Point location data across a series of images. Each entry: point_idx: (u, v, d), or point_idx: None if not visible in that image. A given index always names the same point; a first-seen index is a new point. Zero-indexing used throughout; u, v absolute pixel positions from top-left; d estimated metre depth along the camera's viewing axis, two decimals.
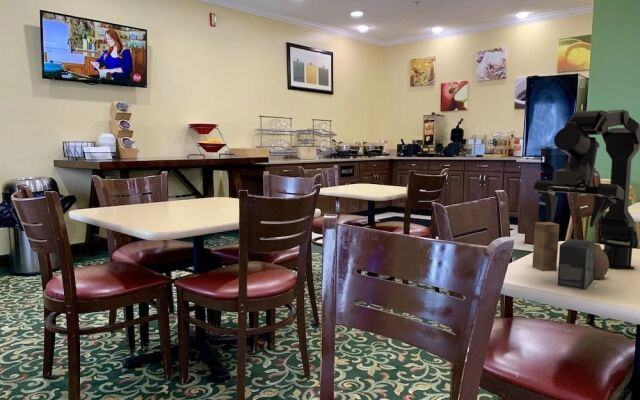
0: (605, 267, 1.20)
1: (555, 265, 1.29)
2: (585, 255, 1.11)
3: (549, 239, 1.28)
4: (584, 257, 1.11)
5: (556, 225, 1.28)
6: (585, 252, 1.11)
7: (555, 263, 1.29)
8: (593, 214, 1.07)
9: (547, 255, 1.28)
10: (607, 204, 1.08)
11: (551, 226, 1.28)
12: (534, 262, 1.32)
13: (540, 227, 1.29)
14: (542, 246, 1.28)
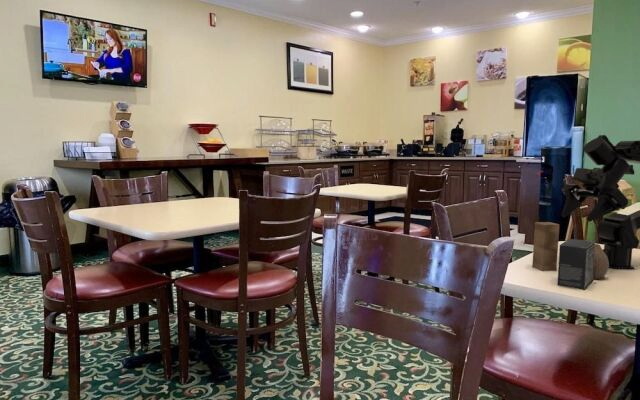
0: (605, 267, 1.20)
1: (555, 265, 1.29)
2: (585, 255, 1.11)
3: (549, 239, 1.28)
4: (584, 257, 1.11)
5: (556, 225, 1.28)
6: (585, 252, 1.11)
7: (555, 263, 1.29)
8: (593, 210, 1.26)
9: (547, 255, 1.28)
10: (610, 209, 1.25)
11: (551, 226, 1.28)
12: (534, 262, 1.32)
13: (540, 227, 1.29)
14: (542, 246, 1.28)
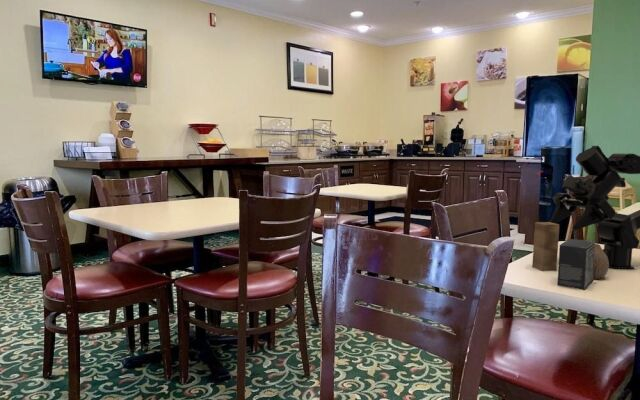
0: (605, 267, 1.20)
1: (555, 265, 1.29)
2: (585, 255, 1.11)
3: (549, 239, 1.28)
4: (584, 257, 1.11)
5: (556, 225, 1.28)
6: (585, 252, 1.11)
7: (555, 263, 1.29)
8: (579, 219, 1.26)
9: (547, 255, 1.28)
10: (597, 219, 1.25)
11: (551, 226, 1.28)
12: (534, 262, 1.32)
13: (540, 227, 1.29)
14: (542, 246, 1.28)
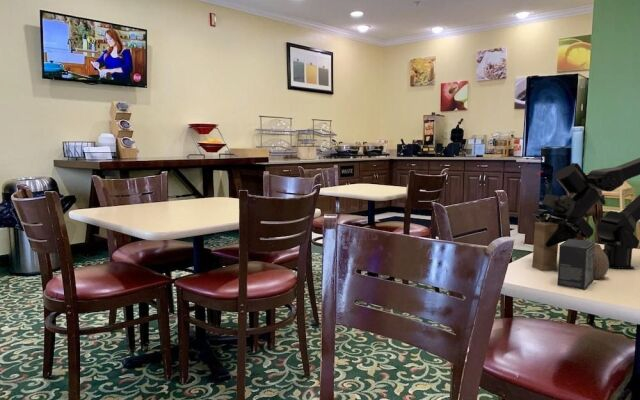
0: (605, 267, 1.20)
1: (555, 265, 1.29)
2: (585, 255, 1.11)
3: None
4: (584, 257, 1.11)
5: (556, 225, 1.28)
6: (585, 252, 1.11)
7: (555, 263, 1.29)
8: (552, 236, 1.27)
9: (547, 255, 1.28)
10: (570, 236, 1.27)
11: (551, 226, 1.28)
12: (534, 262, 1.32)
13: (540, 227, 1.29)
14: (542, 246, 1.28)
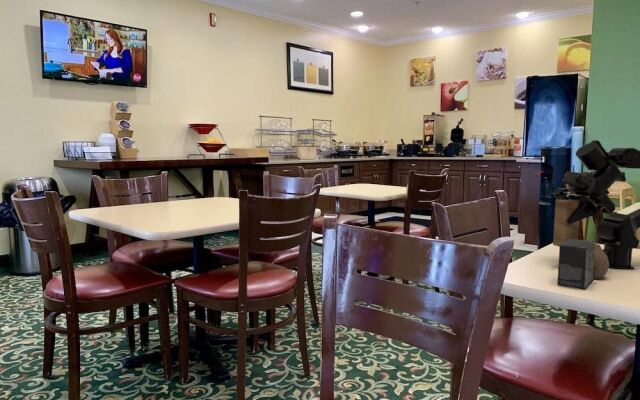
0: (605, 267, 1.20)
1: None
2: (585, 255, 1.11)
3: None
4: (584, 257, 1.11)
5: (577, 202, 1.28)
6: (585, 252, 1.11)
7: None
8: (573, 212, 1.28)
9: (568, 232, 1.29)
10: (591, 212, 1.27)
11: (572, 203, 1.28)
12: (554, 239, 1.33)
13: (561, 204, 1.30)
14: (563, 223, 1.29)
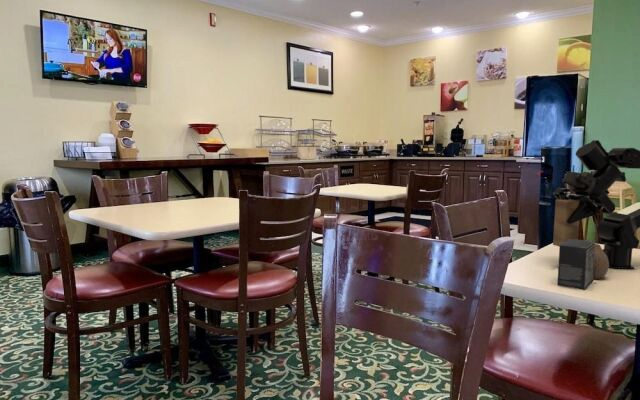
0: (605, 267, 1.20)
1: None
2: (585, 255, 1.11)
3: None
4: (584, 257, 1.11)
5: (577, 202, 1.28)
6: (585, 252, 1.11)
7: None
8: (573, 212, 1.28)
9: (568, 232, 1.29)
10: (591, 212, 1.27)
11: (572, 203, 1.28)
12: (554, 239, 1.33)
13: (561, 204, 1.30)
14: (563, 223, 1.29)
